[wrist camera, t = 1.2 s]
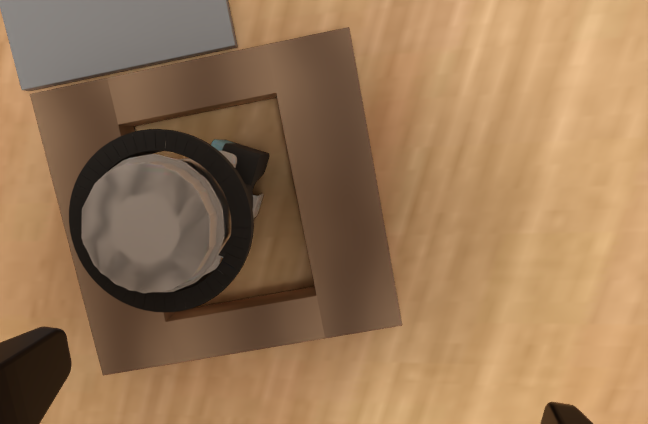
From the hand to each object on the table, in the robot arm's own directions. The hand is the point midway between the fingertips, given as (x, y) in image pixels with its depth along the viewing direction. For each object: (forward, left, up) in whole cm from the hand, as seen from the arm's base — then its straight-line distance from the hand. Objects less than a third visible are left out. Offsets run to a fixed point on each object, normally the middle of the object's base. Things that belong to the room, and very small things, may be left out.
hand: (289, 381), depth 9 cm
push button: (-4, +2, -14) cm, 15 cm away
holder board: (-4, +2, -14) cm, 15 cm away
